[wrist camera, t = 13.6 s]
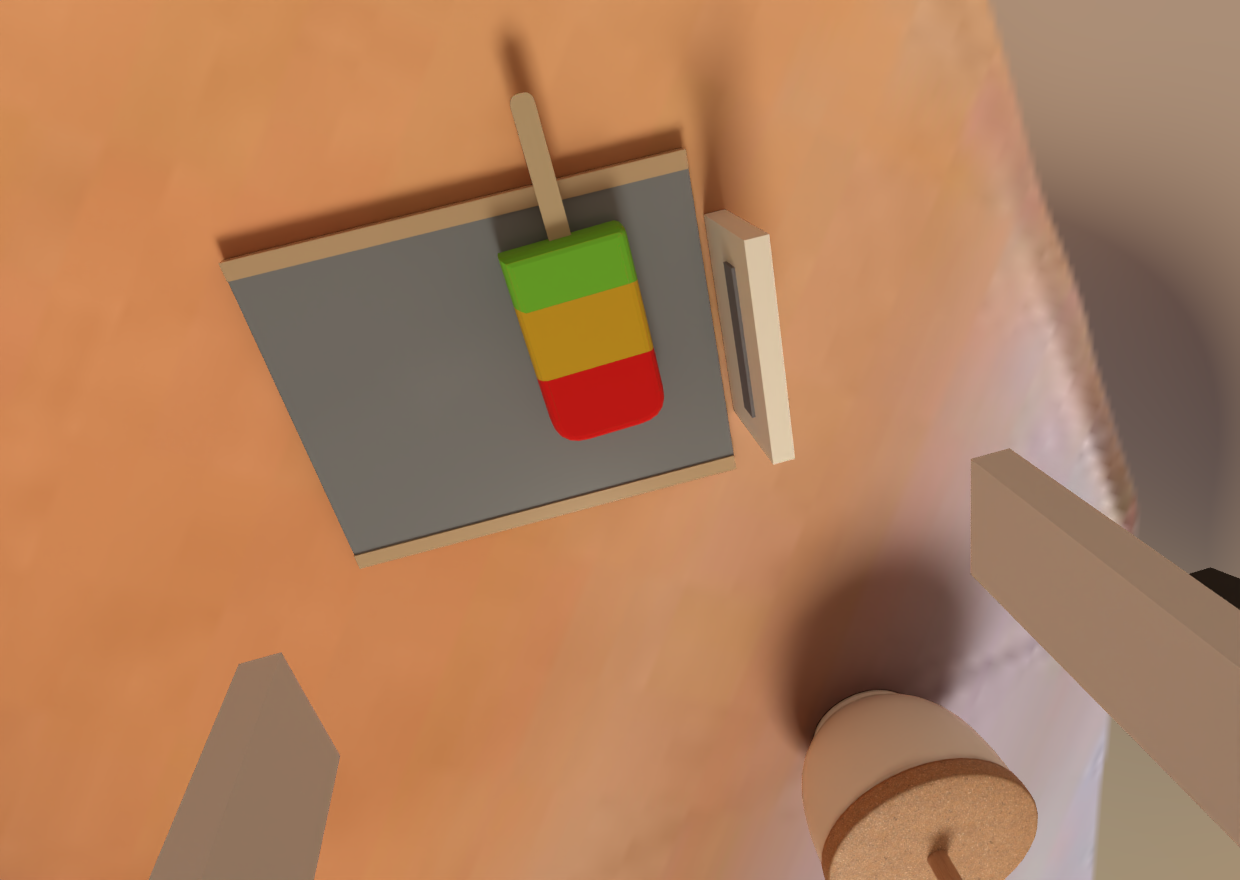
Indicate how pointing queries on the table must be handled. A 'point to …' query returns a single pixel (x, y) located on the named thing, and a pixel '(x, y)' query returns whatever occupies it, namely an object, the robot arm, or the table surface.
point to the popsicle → (580, 309)
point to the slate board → (477, 363)
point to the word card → (751, 330)
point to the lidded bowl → (911, 795)
